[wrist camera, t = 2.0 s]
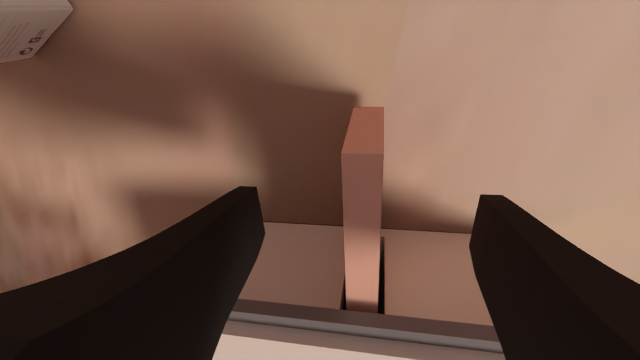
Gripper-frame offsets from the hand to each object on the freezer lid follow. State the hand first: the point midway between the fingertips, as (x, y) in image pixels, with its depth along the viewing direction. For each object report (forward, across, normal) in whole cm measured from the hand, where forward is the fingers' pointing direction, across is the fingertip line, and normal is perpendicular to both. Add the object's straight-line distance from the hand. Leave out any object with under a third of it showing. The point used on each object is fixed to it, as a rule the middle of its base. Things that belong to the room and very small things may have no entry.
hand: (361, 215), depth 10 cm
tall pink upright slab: (+4, 0, +4) cm, 5 cm away
